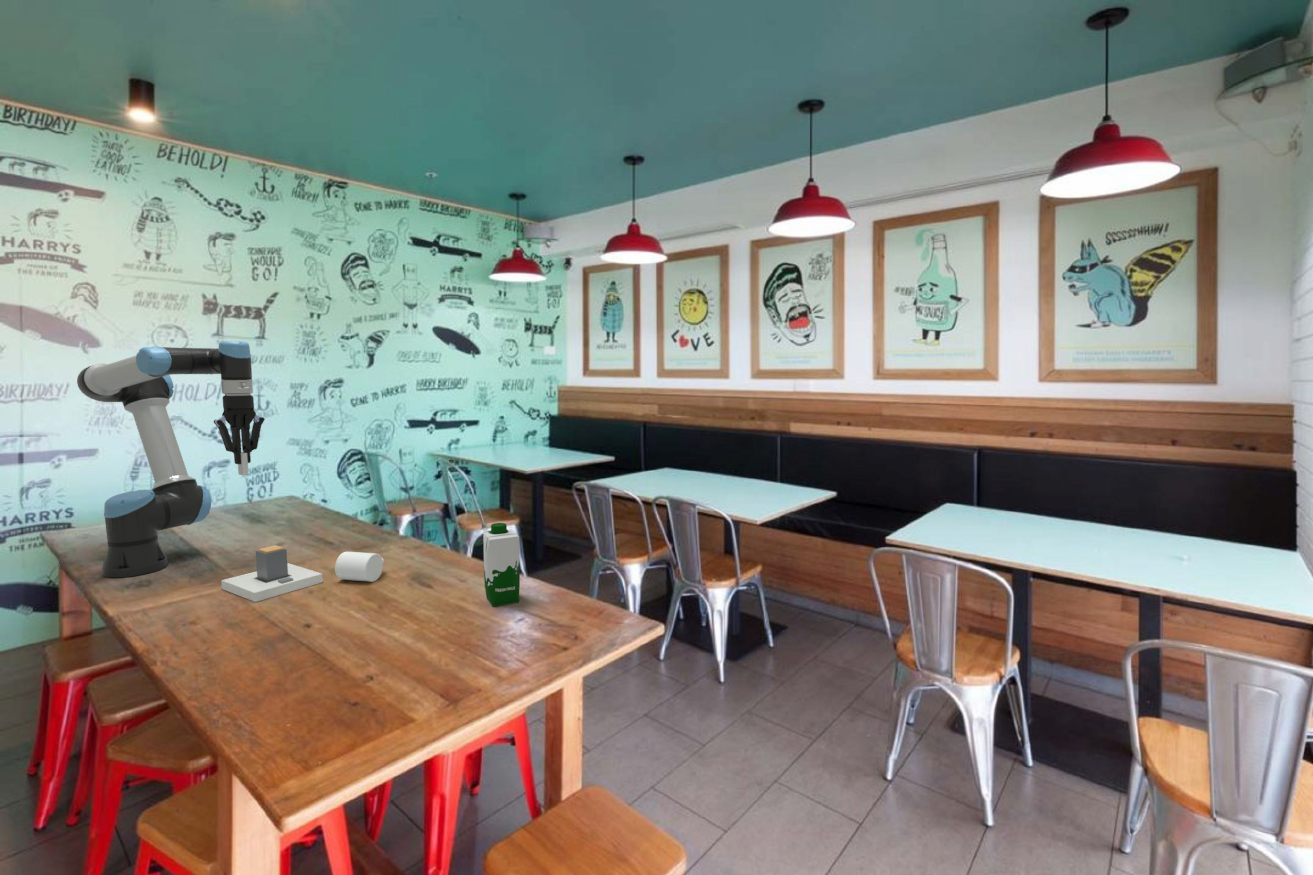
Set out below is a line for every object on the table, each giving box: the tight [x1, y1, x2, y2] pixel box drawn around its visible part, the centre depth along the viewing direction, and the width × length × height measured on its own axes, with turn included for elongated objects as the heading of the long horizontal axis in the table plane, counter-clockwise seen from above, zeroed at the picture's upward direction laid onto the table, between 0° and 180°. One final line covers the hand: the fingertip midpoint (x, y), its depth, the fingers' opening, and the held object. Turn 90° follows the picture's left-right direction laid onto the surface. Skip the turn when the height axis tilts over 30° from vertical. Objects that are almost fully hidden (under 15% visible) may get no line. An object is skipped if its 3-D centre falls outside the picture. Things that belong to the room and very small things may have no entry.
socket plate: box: [221, 562, 323, 603], centre depth 176 cm, size 18×18×3 cm
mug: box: [334, 551, 385, 583], centre depth 183 cm, size 12×10×8 cm
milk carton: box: [483, 522, 521, 608], centre depth 164 cm, size 9×9×20 cm
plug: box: [255, 544, 288, 583], centre depth 175 cm, size 6×6×10 cm
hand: (243, 474), depth 185 cm, fingers closed
